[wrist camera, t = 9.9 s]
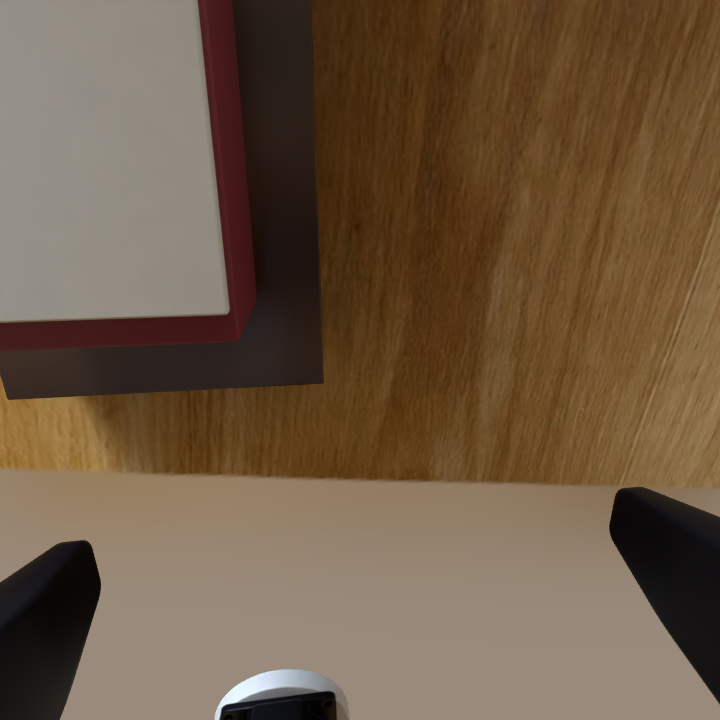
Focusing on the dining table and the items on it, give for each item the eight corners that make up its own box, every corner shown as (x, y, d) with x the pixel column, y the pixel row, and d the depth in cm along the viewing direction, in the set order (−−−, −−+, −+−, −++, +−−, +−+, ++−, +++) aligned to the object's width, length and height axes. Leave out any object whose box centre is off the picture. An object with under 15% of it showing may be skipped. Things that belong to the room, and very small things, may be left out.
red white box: (257, 300, 14) (238, 347, 10) (53, 306, 14) (-68, 360, 9) (214, -224, 10) (148, -551, 6) (-80, -254, 10) (-413, -651, 5)
